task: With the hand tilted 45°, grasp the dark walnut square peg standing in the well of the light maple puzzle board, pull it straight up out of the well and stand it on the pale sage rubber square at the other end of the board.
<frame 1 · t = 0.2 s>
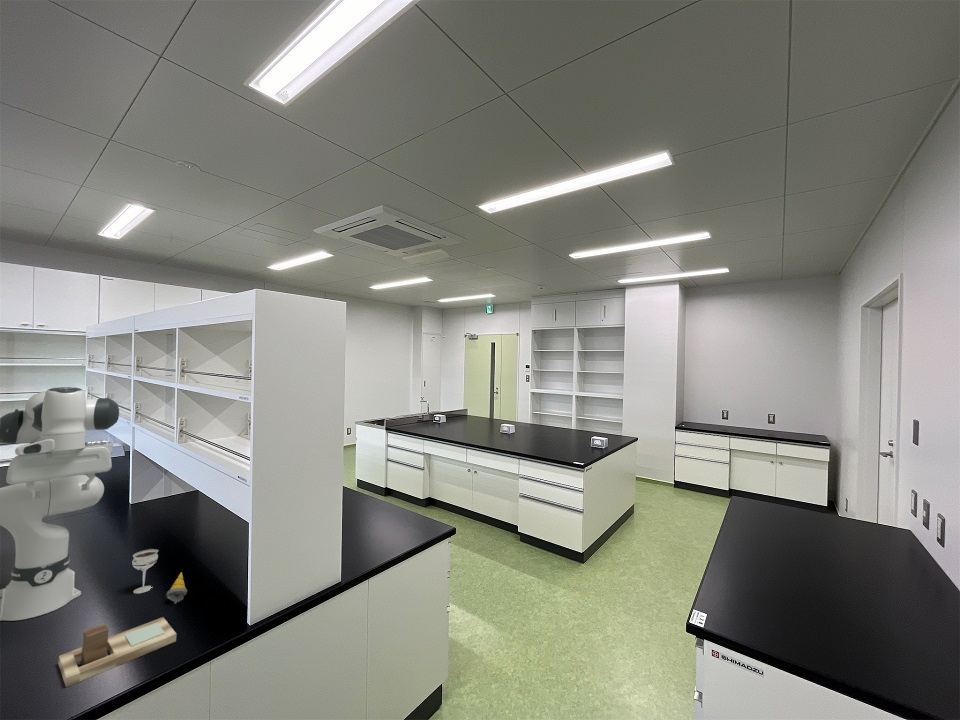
hand: (61, 494, 109), 39 cm above the lab bench, fingers open, 8 cm apart
ice cream cone: (175, 599, 128), on the lab bench
wineglass: (143, 590, 133), on the lab bench
walnut peg: (93, 662, 99), resting in puzzle board
puzzle board: (119, 652, 103), on the lab bench
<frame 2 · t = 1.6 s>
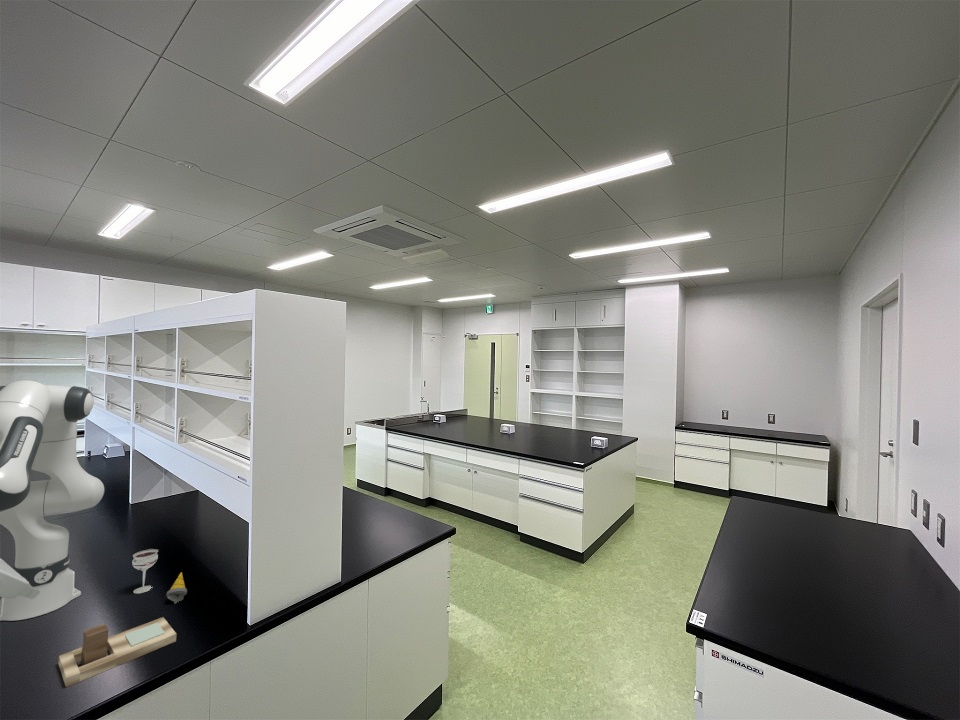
hand: (29, 588, 89), 24 cm above the lab bench, fingers open, 8 cm apart
nothing on the lab bench moved.
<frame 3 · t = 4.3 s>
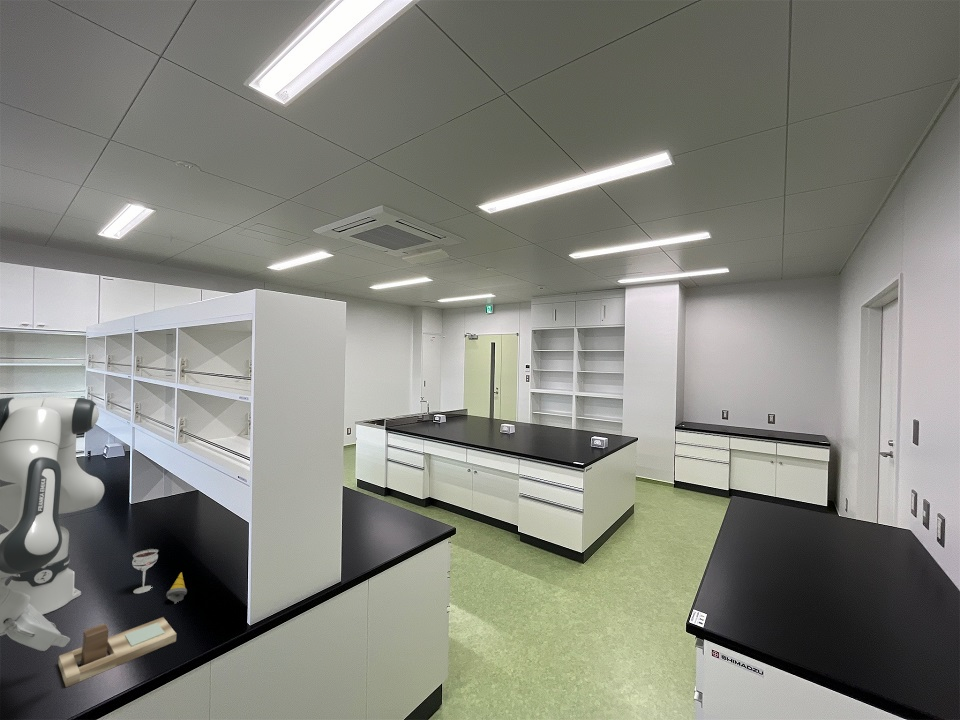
hand: (59, 635, 93), 10 cm above the lab bench, fingers open, 8 cm apart
nothing on the lab bench moved.
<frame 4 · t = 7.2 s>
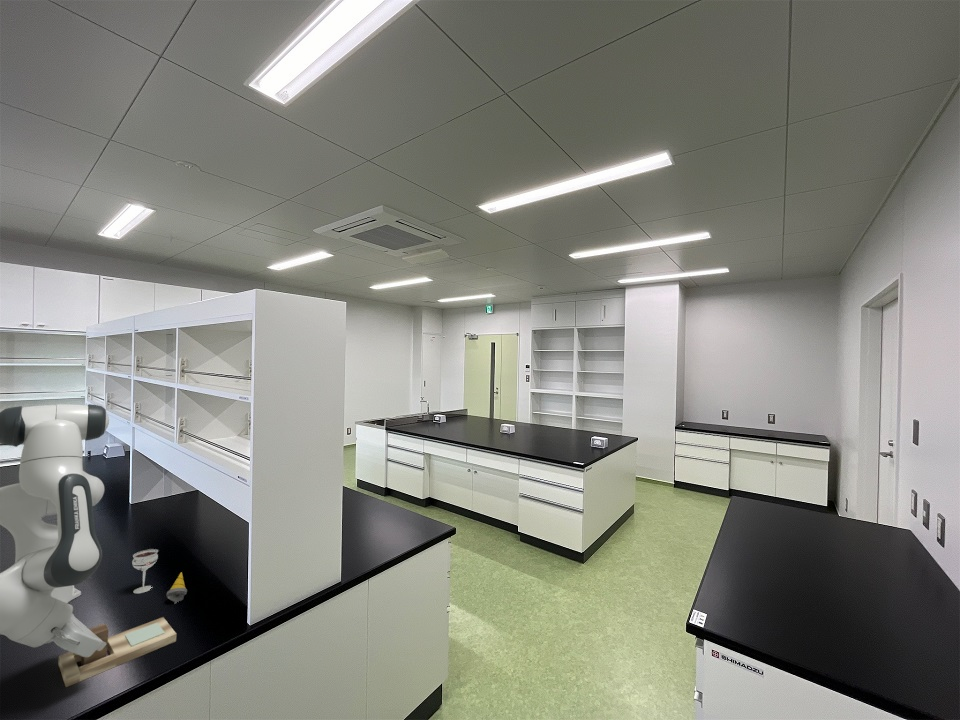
hand: (98, 642, 100), 5 cm above the lab bench, fingers closed on walnut peg, 4 cm apart
walnut peg: (93, 662, 99), resting in puzzle board, touching gripper
everything else where it was.
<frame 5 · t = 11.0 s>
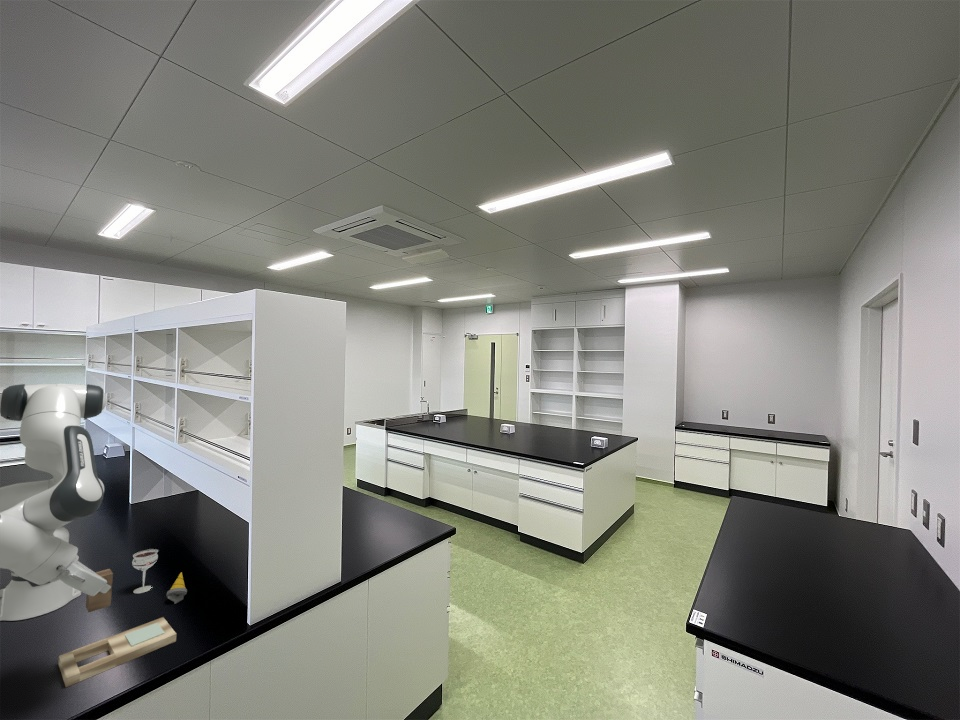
hand: (102, 586, 100), 18 cm above the lab bench, fingers closed on walnut peg, 4 cm apart
walnut peg: (98, 606, 100), point 14 cm above the lab bench, touching gripper
everything else where it was.
when the fingers open (8 cm above the lab bench, at t = 15.2 s): walnut peg drops 1 cm, resting on puzzle board.
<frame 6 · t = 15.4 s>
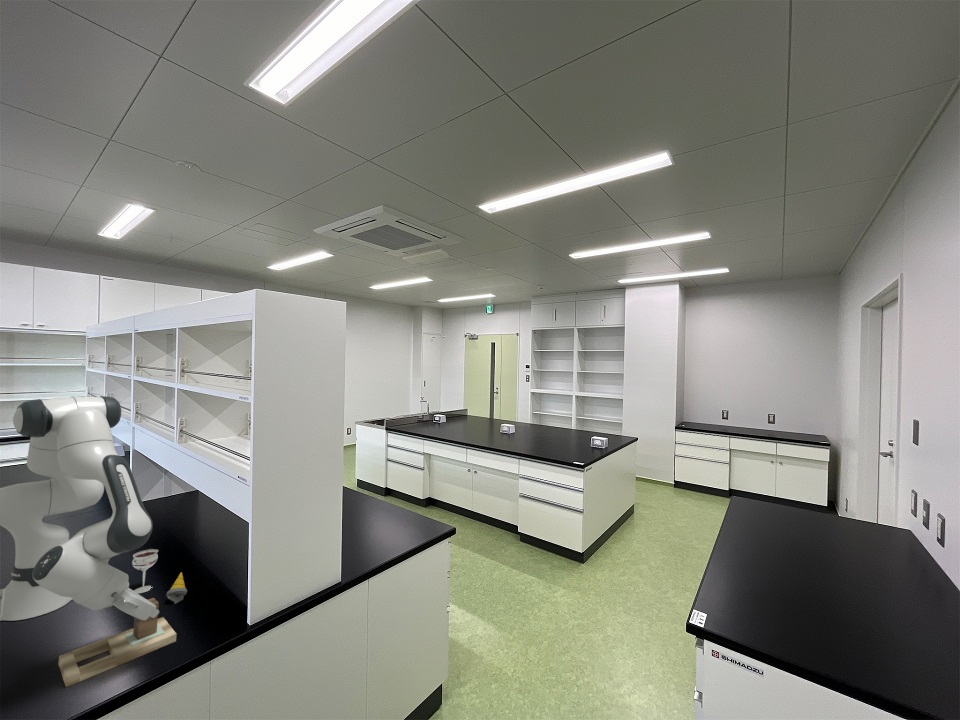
hand: (149, 609, 108), 8 cm above the lab bench, fingers open, 6 cm apart
walnut peg: (144, 633, 107), point 2 cm above the lab bench, touching puzzle board
everything else where it was.
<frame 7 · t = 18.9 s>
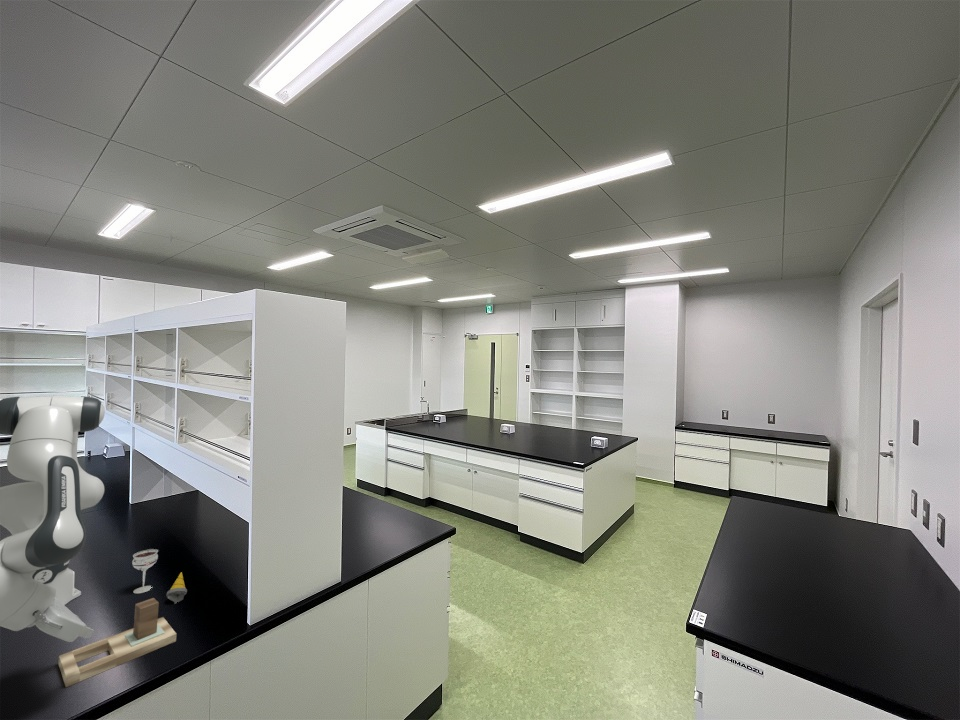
hand: (83, 627, 97), 10 cm above the lab bench, fingers open, 8 cm apart
nothing on the lab bench moved.
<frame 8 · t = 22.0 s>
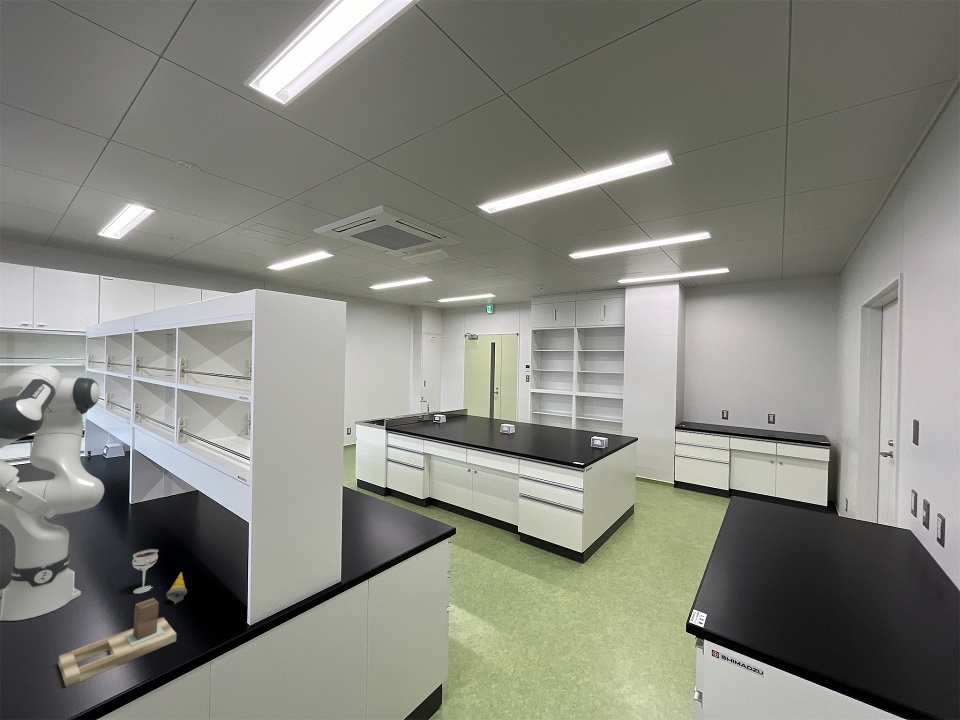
hand: (46, 511, 100), 37 cm above the lab bench, fingers open, 8 cm apart
nothing on the lab bench moved.
at the end: walnut peg 0.1 cm from the target spot on the puzzle board, point 2.3 cm above the puzzle board's base; walnut peg tilted 0°; the gripper is holding nothing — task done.
